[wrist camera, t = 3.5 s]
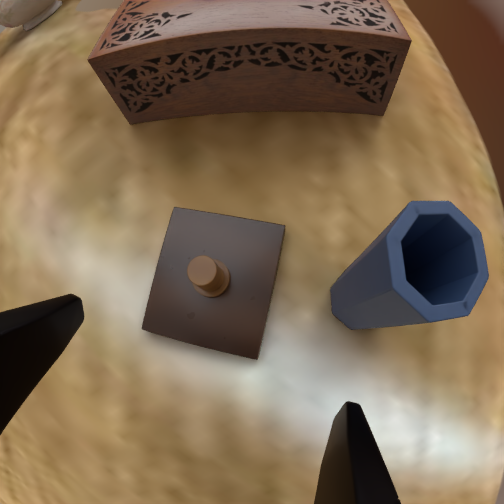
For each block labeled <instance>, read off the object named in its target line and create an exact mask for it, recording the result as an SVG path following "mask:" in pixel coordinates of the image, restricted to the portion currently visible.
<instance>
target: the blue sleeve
mask: <svg viewBox="0 0 504 504" xmlns="http://www.w3.org/2000/svg"><path fill="white" fill-rule="evenodd" d="M488 276H489V273H488V267H487V261H486V255H485V250H484V244H483V239H482V235H481V232H480V230H479V229H478V228H477V227H476V226H475V225H474V224H473V223H472V222H471V221H470V220H469V219H468V218H467V217H466V216H465V215H464V214H463V213H462V212H461V211H460V210H459V209H458V208H457V207H456V206H455V205H454V204H453V203H451V202H449V201H411V202H409V203H408V205H407V206H406V207H405V208H404V209H403V210H402V211H401V212H400V213H399V214H398V216H397V217H396V218H395V219H394V220H393V221H392V222H391V223H390V224H389V225H388V226H387V227H386V229H385V230H384V231H383V232H382V233H381V234H380V235H379V236H378V237H377V238H376V239H375V240H374V241H373V242H372V243H371V244H370V245H369V246H368V248H367V249H366V250H365V251H364V252H363V253H362V254H361V255H360V256H359V257H358V258H357V259H356V260H355V261H354V262H353V263H352V264H351V265H350V266H349V267H348V268H347V269H346V270H345V271H344V272H343V273H342V275H341V276H340V277H339V278H338V280H337V281H336V282H335V283H334V284H333V286H332V287H331V289H330V291H331V305H332V313H333V315H334V316H336V317H337V318H338V319H339V320H340V321H341V322H342V323H344V324H345V325H346V326H347V327H348V328H349V329H351V330H353V329H368V328H381V327H392V326H403V325H413V324H422V323H431V322H437V321H442V320H448V319H454V318H459V317H464V316H468V315H469V314H470V312H471V310H472V309H473V307H474V305H475V303H476V301H477V300H478V298H479V296H480V294H481V292H482V290H483V288H484V286H485V284H486V282H487V280H488Z"/></svg>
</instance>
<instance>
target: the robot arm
mask: <svg viewBox="0 0 504 504" xmlns="http://www.w3.org/2000/svg"><path fill="white" fill-rule="evenodd" d="M83 320H84V311H83V305H82V300H81V298H79V297H77V296H76V295H74V294H68V295H64V296H60V297H57V298H53V299H49V300H45V301H41V302H38V303H34V304H30V305H26V306H22V307H19V308H15V309H11V310H7V311H4V312H0V435H1V433H2V432H3V430H4V429H5V427H6V426H7V424H8V423H9V422H10V420H11V419H12V417H13V416H14V415H15V413H16V412H17V411H18V409H19V408H20V407H21V405H22V404H23V402H24V401H25V400H26V398H27V397H28V396H29V394H30V393H31V392H32V391H33V389H34V388H35V387H36V385H37V384H38V383H39V381H40V380H41V379H42V378H43V376H44V375H45V374H46V373H47V371H48V370H49V369H50V368H51V366H52V365H53V364H54V363H55V361H56V360H57V359H58V358H59V356H60V355H61V354H62V352H63V351H64V349H65V348H66V346H67V345H68V343H69V342H70V340H71V339H72V337H73V336H74V334H75V333H76V331H77V330H78V329H79V327H80V326H81V324H82V323H83ZM314 504H401V502H400V500H399V499H398V495H397V492H396V490H395V487H394V485H393V482H392V480H391V477H390V475H389V472H388V470H387V467H386V465H385V462H384V460H383V458H382V455H381V453H380V450H379V448H378V446H377V443H376V441H375V438H374V436H373V434H372V431H371V429H370V427H369V424H368V422H367V420H366V417H365V415H364V413H363V410H362V408H361V406H360V405H359V404H358V403H354V402H350V401H347V402H345V404H344V405H343V406H342V408H341V409H340V410H339V412H338V413H337V415H336V416H335V418H334V421H333V424H332V428H331V431H330V435H329V439H328V443H327V446H326V450H325V453H324V457H323V460H322V464H321V469H320V474H319V480H318V485H317V491H316V496H315V501H314Z"/></svg>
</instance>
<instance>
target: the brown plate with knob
mask: <svg viewBox="0 0 504 504" xmlns="http://www.w3.org/2000/svg"><path fill="white" fill-rule="evenodd" d="M284 234H285V225H280V224H274V223H269V222H263V221H257V220H252V219H246V218H240V217H234V216H228V215H222V214H216V213H210V212H204V211H198V210H191V209H185V208H178V207H174V209H173V212H172V215H171V219H170V222H169V225H168V229H167V232H166V235H165V239H164V242H163V246H162V249H161V253H160V257H159V260H158V264H157V268H156V272H155V275H154V279H153V283H152V287H151V291H150V295H149V299H148V303H147V308H146V312H145V316H144V321H143V325H142V330H146V331H149V332H152V333H155V334H159V335H162V336H165V337H169V338H172V339H176V340H179V341H183V342H187V343H190V344H194V345H198V346H202V347H205V348H209V349H213V350H217V351H221V352H226V353H230V354H234V355H238V356H243V357H247V358H252V359H256V360H257V359H258V358H259V354H260V349H261V345H262V340H263V336H264V331H265V327H266V322H267V317H268V313H269V308H270V303H271V298H272V294H273V289H274V284H275V279H276V274H277V269H278V264H279V259H280V254H281V249H282V244H283V239H284Z"/></svg>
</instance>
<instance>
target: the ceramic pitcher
mask: <svg viewBox="0 0 504 504" xmlns="http://www.w3.org/2000/svg"><path fill="white" fill-rule="evenodd" d="M61 5H62V2H61V1H58V0H0V25H2V26H5V27H10V28H14V27H18V26H20V25H22V24H23V25H24V30H25V31H26V30H31V29H32V28H33V27H35V26H36V25H38V24H39V23H40V22H42V21H43V20H45V19H46V18H47V17H49V16H50V15H52V14H53V13H54V12H55V11H56V10H57V9H58V8H59V7H60V6H61Z"/></svg>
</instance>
